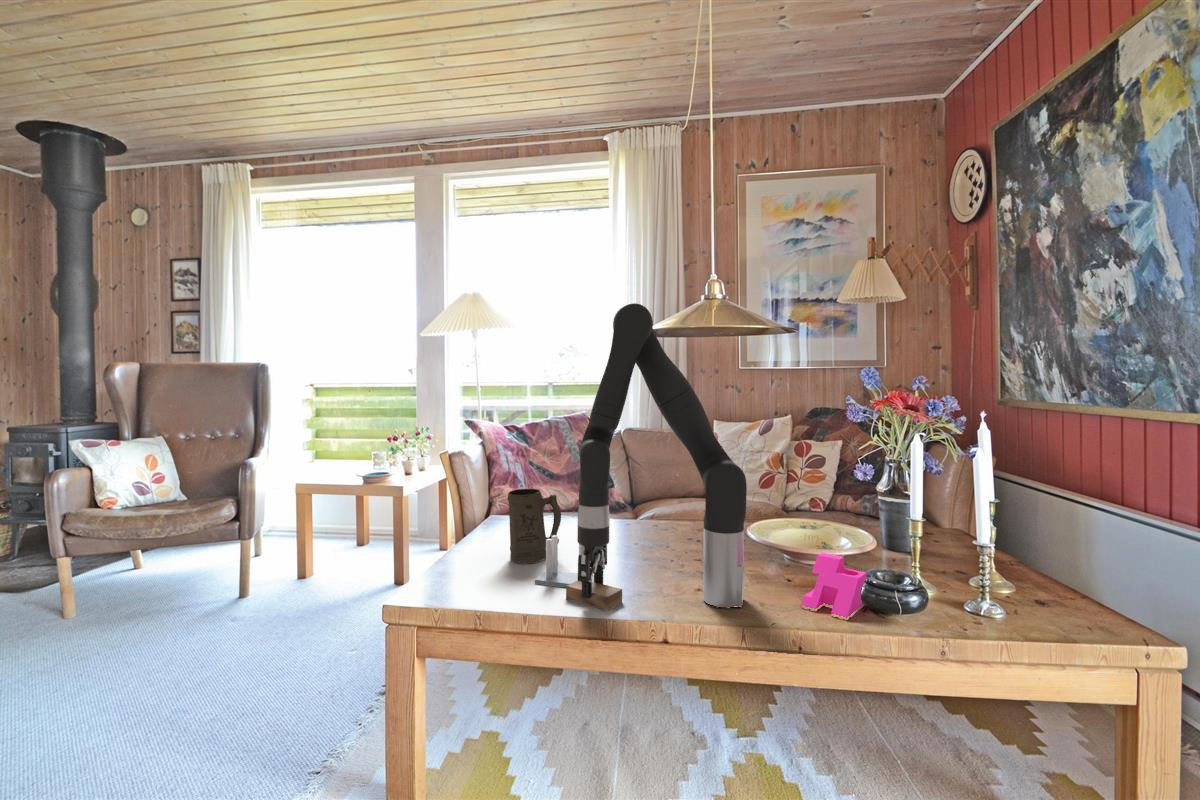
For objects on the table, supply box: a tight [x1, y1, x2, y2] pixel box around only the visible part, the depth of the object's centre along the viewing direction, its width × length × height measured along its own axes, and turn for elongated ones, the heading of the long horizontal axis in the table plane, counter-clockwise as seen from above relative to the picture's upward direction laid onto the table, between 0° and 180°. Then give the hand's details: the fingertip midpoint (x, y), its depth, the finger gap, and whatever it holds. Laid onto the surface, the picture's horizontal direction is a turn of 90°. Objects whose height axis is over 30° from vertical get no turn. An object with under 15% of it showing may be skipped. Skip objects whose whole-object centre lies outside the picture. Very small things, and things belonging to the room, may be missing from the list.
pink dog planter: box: [800, 552, 867, 618], centre depth 131 cm, size 12×10×10 cm
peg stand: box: [534, 534, 594, 588], centre depth 148 cm, size 15×8×11 cm, turn 72°
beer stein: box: [506, 488, 562, 564], centre depth 167 cm, size 15×11×20 cm
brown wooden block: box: [565, 581, 623, 612], centre depth 135 cm, size 12×6×4 cm, turn 55°
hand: (592, 591), depth 135 cm, fingers open, 8 cm apart
